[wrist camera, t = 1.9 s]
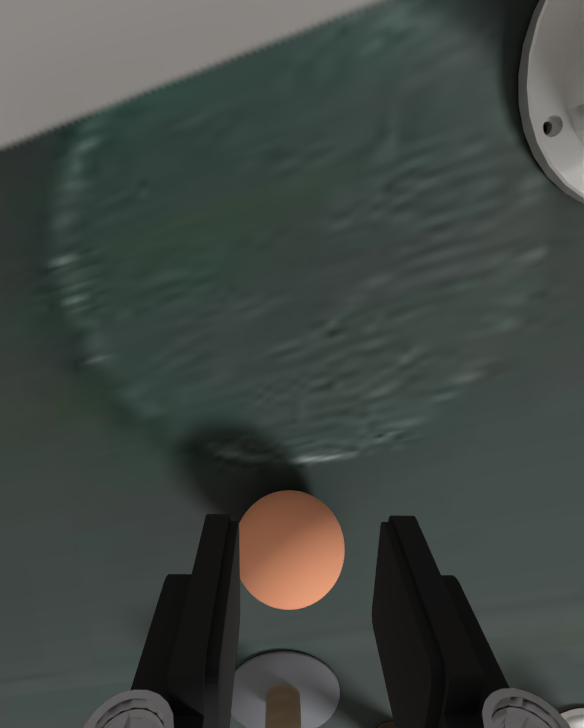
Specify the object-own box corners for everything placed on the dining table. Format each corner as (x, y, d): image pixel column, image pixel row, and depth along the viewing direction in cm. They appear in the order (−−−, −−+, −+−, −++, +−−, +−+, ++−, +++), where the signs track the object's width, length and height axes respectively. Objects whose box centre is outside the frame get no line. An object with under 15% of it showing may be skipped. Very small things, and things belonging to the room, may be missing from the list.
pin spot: (225, 650, 32) (224, 653, 31) (342, 650, 32) (343, 653, 32) (226, 733, 34) (226, 736, 34) (336, 733, 34) (336, 736, 34)
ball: (237, 469, 27) (226, 537, 22) (340, 470, 27) (356, 538, 22) (238, 553, 29) (228, 637, 23) (334, 554, 29) (348, 637, 24)
